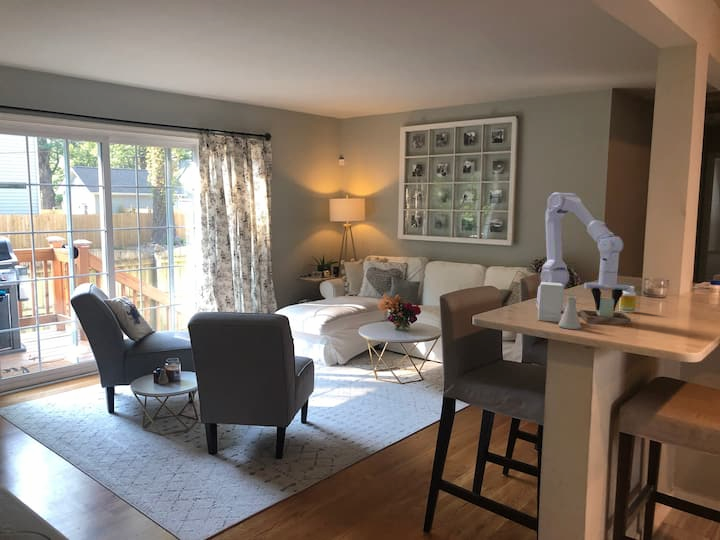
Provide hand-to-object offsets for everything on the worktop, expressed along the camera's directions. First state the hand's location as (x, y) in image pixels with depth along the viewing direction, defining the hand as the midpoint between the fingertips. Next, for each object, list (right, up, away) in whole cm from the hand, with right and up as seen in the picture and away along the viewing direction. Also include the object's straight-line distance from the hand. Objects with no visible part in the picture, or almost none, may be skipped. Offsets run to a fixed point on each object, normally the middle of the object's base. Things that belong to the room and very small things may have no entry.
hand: (604, 310), depth 197 cm
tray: (0, -4, 0) cm, 4 cm away
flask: (-17, -5, -12) cm, 21 cm away
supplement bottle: (+17, -2, +20) cm, 26 cm away
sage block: (0, -2, 0) cm, 2 cm away
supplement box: (-20, -3, 0) cm, 20 cm away
